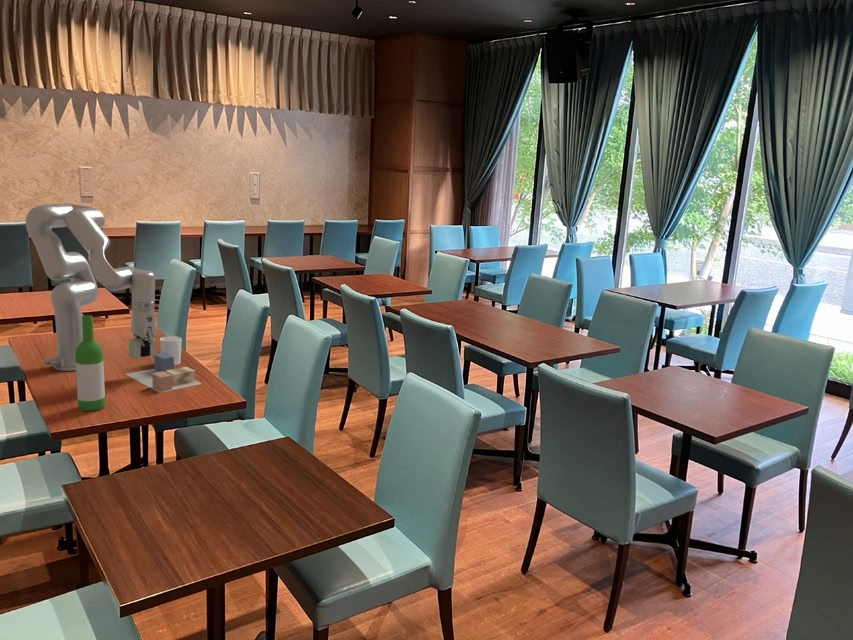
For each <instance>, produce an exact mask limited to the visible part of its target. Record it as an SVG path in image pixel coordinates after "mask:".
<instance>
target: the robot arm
mask: <svg viewBox="0 0 853 640" xmlns="http://www.w3.org/2000/svg"><path fill="white" fill-rule="evenodd" d="M105 218H106V217H105V216H104V214H103V212H101V210H99V209H97V208H95V207H93V206H85V205H79V204H73V203H66V202H65V203H64V202H63V203H62V202H61V203H45V204H39V205H36V206H33V207H32V208H31V209H30V210H29V211H28V212H27V214H26V217H25V229H26V231H27V233H28V235H29V238H30V239H31V240H32V243H33V245H34V247H35V248H36V251H37V254H38V257H39V259H40V262H41V264H42V267H43V270H44V272H45V274H46V276H47V277H48V278H49V279H50V280H52V281H63V280H64V281H65V280H68V279H70V281H67V282H64V283H63V282H62V283H61V284H60V283H59V284H58V285H56V286H55V287H54V288H53V289H52V291H51V293H50V301H51V305H52V307H53V312H54V319H55V321H54V322H55V331H56V347H57V350H56V351H57V354H55V355H54V357H52V358H47V359H43V366H46V365H50V366H53V369H55V370H57V371H61V372H62V371H63V372H72V371H73V372H74V371H75V372H76V357H75V352H76V348H77V347H78V345H79V344H80V343H81V342H82V341H83V328H82V316H83V315H84V314H83V312H82V311H81V308H80V307H85V306H87V305H90V304H93V303H94V302H96V301H97V299H98V298H99V288H98V284H97V281H99V284H101V286H103V287H105V289H107V290H109V291H112V292H116V291H120V290H125V289H126V290H127V289H130V288H131V310H132V311H131V325H130V327H131V328H130V329H131V333H133V337H134V338H133V339H137V338H142V346H141V358H147V357H146V356H148V357H151V356H150V346H151V342H153V338H156V336H157V325H156V323H157V322H156V313H155V305H156V304H155V301H156V300H155V297H156V295H155V294H156V275H155V274H156V273H154V272H153V271H151V270H147V269H140V268H137V267H134V266H131V265H130V266H123V267H117V268H114V267H112V265H111V264H110V263H109V262H108V260H107V259H106V255H105V251H106V250H107V248H108V247H109V246H110V244H111V240H110V237H108V236H107V234H106V233H105V232H104V231H103V230H102V229H103V228H104V227H105V224H106V219H105ZM58 228H68V230H69V231H70V232H71V234H72V235H73V236H74V237H75V239H77V241H78V242H79V243H80V245H81V246H82V247H83V248H84V250H85V251H86V252H87V254H88V260H87V259H86V257H85V256H84V255H83V254H81V253H79V252H76V251H69V252H66V250H65V248H64V245H63V243H62V240H61V239H60V237H59V235H57V234H56V233H55V232H54V231H53V230H52V229H58ZM95 278H96V279H97V281H96V279H95ZM145 339H148V340H146V341H145Z"/></svg>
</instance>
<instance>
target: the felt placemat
mask: <svg viewBox="0 0 853 640" xmlns="http://www.w3.org/2000/svg"><path fill="white" fill-rule="evenodd" d="M156 372H158V371H156V370H155V368H151V369H146V370H139V371H134V372H129V373H125V375H126V376H128V377H129V378H131V379H134V380H135V381H137V382H139V383H141V384H142V385H144V386H146V387H148V388H150V389H152V390H153V391H156V392H157V393H159V394H161V393H166V392H170V391H176V390H181V389H185V388H188V387H189V388H190V387H194V386H198V385H199V386H200V385H202V384H203V382H200V381H198V380H196V379H195V381H194V382H189V383H184V384H179V385H173V384H172V389H170V390H166V391H159V390H157V389H156V388H154V387H153V382H152V373H156Z"/></svg>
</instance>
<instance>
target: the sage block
mask: <svg viewBox="0 0 853 640" xmlns="http://www.w3.org/2000/svg"><path fill="white" fill-rule="evenodd" d="M146 340H148V339H145V341H146ZM141 346H142V338H137V339H134V338H130V339H129V340H128V356H129V357H131V358H133V359H140V358H142V357H141ZM156 350H157V339H155V337H153V342H151V346H150V356H146V357H145V358H147V357H154V356H155V355H156V354H157V353H156V352H157V351H156Z"/></svg>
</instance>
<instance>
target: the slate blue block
mask: <svg viewBox="0 0 853 640" xmlns="http://www.w3.org/2000/svg"><path fill="white" fill-rule="evenodd" d="M153 357H154V358H153V360H154V369H155V370H156V371H158V372H161V371H164V372H166V370H171V369H175V365H174V357H172V356H170V355H168V354H166V353H161V352H160V353H156V355H155V356H153Z"/></svg>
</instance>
